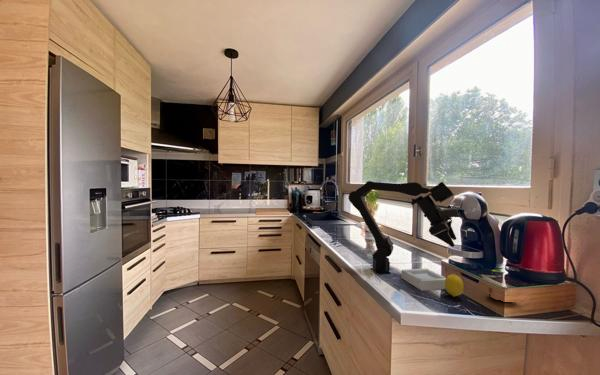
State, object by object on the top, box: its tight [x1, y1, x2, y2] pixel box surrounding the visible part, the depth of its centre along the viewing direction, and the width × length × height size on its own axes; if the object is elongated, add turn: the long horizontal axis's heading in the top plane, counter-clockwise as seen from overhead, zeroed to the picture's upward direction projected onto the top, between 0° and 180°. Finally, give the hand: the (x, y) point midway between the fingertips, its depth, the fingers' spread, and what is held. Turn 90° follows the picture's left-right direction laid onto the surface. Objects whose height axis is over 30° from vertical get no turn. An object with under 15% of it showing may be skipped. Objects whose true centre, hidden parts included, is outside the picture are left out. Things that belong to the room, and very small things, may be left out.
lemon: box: [445, 273, 464, 298], centre depth 82 cm, size 6×6×8 cm
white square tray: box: [401, 268, 447, 291], centre depth 93 cm, size 12×12×4 cm
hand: (454, 242), depth 92 cm, fingers open, 9 cm apart
